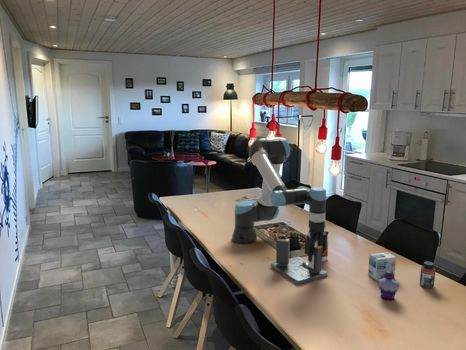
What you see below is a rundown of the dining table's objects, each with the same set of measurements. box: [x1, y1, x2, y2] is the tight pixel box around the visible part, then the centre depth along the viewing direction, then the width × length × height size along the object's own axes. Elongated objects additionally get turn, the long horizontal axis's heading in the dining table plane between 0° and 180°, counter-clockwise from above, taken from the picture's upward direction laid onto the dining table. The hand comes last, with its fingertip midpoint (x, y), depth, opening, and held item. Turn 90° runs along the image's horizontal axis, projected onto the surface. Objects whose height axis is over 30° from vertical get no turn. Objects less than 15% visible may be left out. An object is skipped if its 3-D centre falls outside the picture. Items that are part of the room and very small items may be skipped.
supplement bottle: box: [419, 260, 436, 290], centre depth 176 cm, size 6×6×11 cm
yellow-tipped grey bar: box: [275, 238, 291, 267], centre depth 194 cm, size 6×5×14 cm
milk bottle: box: [315, 223, 329, 263], centre depth 205 cm, size 8×8×20 cm
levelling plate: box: [270, 256, 328, 286], centre depth 192 cm, size 22×18×4 cm
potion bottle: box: [378, 270, 400, 302], centre depth 166 cm, size 9×9×12 cm
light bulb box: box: [367, 251, 397, 281], centre depth 186 cm, size 11×7×11 cm, turn 105°
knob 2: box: [309, 244, 323, 273], centre depth 187 cm, size 6×5×14 cm
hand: (315, 266), depth 188 cm, fingers open, 4 cm apart
